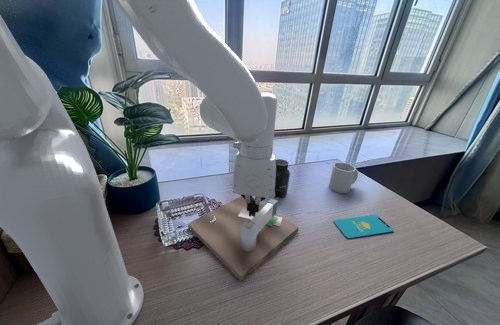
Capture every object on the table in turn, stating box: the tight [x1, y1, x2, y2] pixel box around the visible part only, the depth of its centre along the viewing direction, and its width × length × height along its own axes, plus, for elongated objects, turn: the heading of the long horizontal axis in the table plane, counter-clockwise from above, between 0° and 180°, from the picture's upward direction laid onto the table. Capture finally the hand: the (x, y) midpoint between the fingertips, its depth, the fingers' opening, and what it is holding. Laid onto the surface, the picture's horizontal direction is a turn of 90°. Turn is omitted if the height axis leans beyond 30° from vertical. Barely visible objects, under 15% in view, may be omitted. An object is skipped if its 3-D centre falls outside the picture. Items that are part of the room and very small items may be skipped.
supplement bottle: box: [274, 159, 291, 199], centre depth 71 cm, size 7×7×12 cm
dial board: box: [187, 195, 299, 282], centre depth 57 cm, size 21×21×2 cm
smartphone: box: [333, 214, 394, 240], centre depth 60 cm, size 7×1×15 cm
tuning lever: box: [241, 198, 279, 252], centre depth 53 cm, size 14×4×7 cm, turn 147°
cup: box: [328, 161, 359, 194], centre depth 77 cm, size 7×10×9 cm
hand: (252, 213), depth 56 cm, fingers closed
